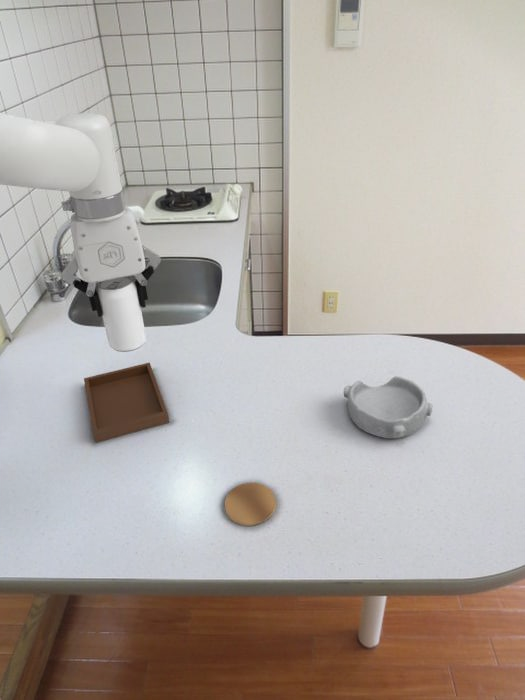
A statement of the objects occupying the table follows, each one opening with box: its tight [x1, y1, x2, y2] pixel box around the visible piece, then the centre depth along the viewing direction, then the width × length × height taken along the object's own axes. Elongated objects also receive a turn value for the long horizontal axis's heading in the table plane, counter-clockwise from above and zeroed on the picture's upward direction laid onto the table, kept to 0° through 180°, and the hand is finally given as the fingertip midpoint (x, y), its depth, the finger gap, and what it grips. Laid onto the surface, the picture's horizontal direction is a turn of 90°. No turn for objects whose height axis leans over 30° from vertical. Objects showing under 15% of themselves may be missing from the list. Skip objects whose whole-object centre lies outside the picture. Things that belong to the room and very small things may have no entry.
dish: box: [343, 375, 433, 439], centre depth 96 cm, size 14×14×5 cm
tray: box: [83, 362, 170, 444], centre depth 103 cm, size 18×14×2 cm
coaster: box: [224, 482, 277, 527], centre depth 82 cm, size 8×8×1 cm
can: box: [96, 275, 147, 353], centre depth 89 cm, size 6×6×12 cm
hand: (120, 307), depth 88 cm, fingers closed on can, 6 cm apart
